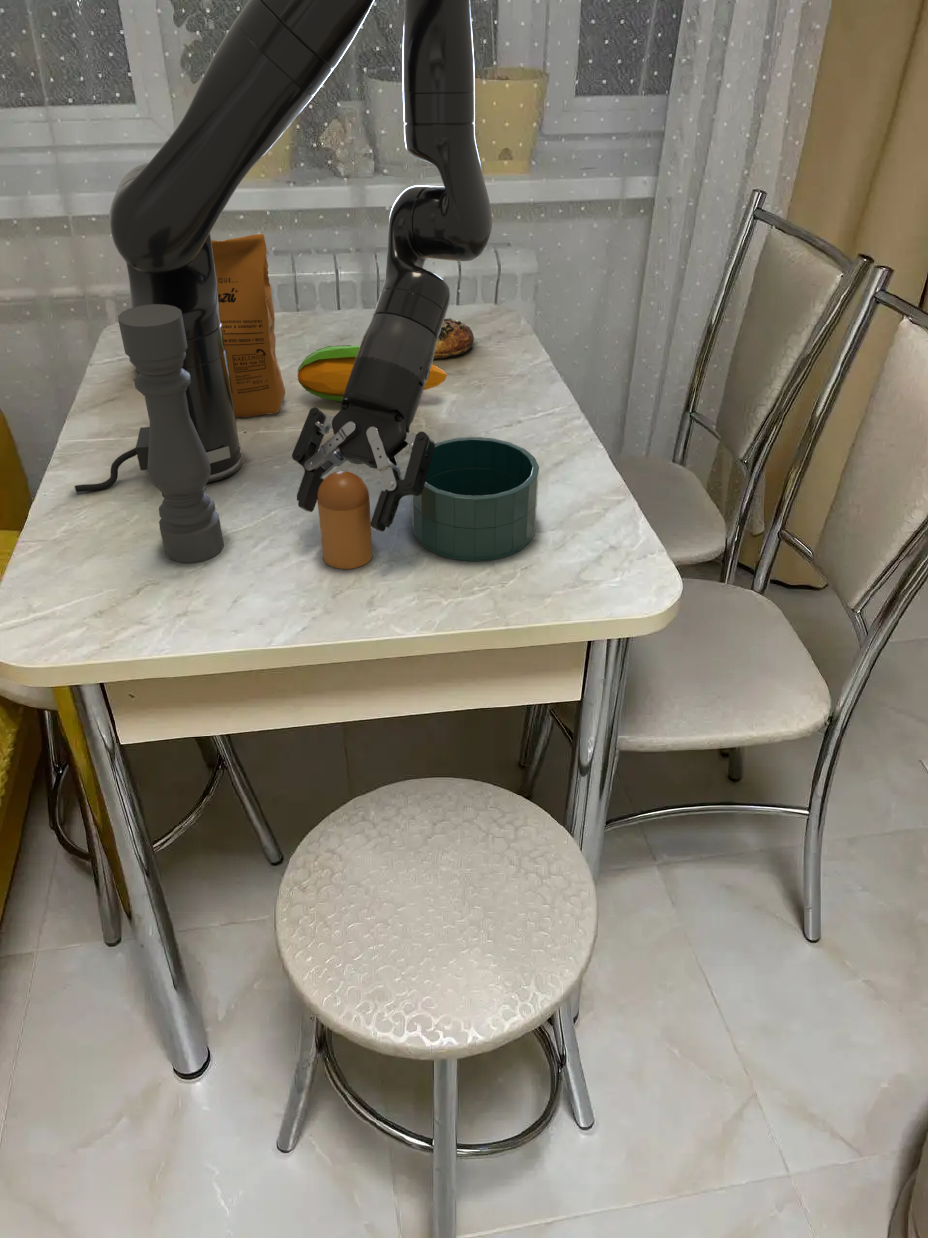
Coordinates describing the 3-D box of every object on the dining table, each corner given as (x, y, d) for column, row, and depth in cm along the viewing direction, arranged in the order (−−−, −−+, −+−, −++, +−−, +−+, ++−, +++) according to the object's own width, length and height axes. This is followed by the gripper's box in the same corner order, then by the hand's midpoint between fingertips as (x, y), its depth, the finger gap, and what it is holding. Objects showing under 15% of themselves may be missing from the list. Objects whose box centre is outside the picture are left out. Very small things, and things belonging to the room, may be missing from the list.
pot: (420, 566, 101) (419, 503, 96) (406, 500, 112) (404, 441, 107) (547, 555, 103) (551, 493, 98) (521, 491, 113) (523, 433, 109)
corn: (298, 333, 131) (447, 333, 131) (304, 384, 136) (447, 385, 136) (291, 358, 125) (446, 359, 126) (297, 411, 131) (447, 412, 131)
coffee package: (201, 387, 135) (173, 222, 122) (291, 387, 136) (273, 222, 122) (185, 419, 128) (154, 246, 114) (281, 419, 128) (261, 247, 114)
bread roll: (488, 339, 149) (485, 308, 146) (449, 373, 143) (445, 342, 139) (428, 327, 154) (424, 297, 151) (388, 360, 148) (382, 329, 144)
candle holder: (199, 524, 107) (157, 298, 92) (236, 544, 104) (199, 313, 89) (152, 548, 103) (100, 316, 88) (189, 569, 100) (142, 333, 85)
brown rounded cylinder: (324, 571, 100) (316, 489, 94) (322, 543, 104) (314, 463, 98) (374, 566, 101) (369, 485, 95) (370, 539, 105) (365, 460, 99)
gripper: (315, 342, 99) (263, 492, 98) (440, 367, 94) (387, 526, 93) (346, 373, 106) (298, 513, 105) (464, 397, 101) (415, 545, 100)
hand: (340, 519), depth 99 cm, fingers open, 8 cm apart
